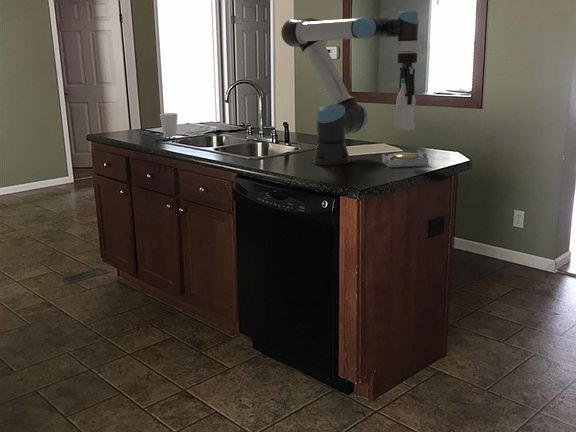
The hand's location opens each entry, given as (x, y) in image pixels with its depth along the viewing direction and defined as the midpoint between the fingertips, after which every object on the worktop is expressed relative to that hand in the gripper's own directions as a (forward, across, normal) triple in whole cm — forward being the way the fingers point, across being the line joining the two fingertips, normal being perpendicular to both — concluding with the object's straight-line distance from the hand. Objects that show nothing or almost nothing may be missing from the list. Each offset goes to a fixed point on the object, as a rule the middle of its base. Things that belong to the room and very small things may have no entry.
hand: (406, 111), depth 242 cm
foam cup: (+21, +97, +107) cm, 146 cm away
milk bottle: (+7, 0, 0) cm, 7 cm away
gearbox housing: (+21, 0, 0) cm, 21 cm away
